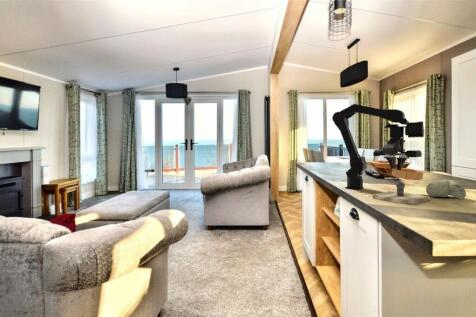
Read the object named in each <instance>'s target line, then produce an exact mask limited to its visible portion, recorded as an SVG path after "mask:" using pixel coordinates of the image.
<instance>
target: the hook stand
mask: <svg viewBox="0 0 476 317" xmlns="http://www.w3.org/2000/svg"><path fill="white" fill-rule="evenodd" d="M405 186H406V184H405V183H404V182H402V181H398V182H397V183H396V184H395V187H396V191H391V190H389V191H385V192H379V193H375V194H373V195H372V197H373V198H372V199H375V200H380V201H386V202H392V203H393V202H394V203H399V204H405V205H410V204H411V206H415V205H417V204H421V203H423V202H427V201H429V197H430V196H429V195H421V194H415V193H408V192H407V193H406V192H405Z"/></svg>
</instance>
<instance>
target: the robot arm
mask: <svg viewBox="0 0 476 317" xmlns="http://www.w3.org/2000/svg"><path fill="white" fill-rule="evenodd" d="M356 114H363V115H368V116H373V117H378V118H382V119H384V120H387V121H388V123H387V124H386V125H385V126H384V129H388V130H389V132H388V134H389V135H388V140H387V142H386V144H385V145H383V146H382V147H381V149H374V150H373V152H372V156H373V157H381V156H384V157H383V159H386V160H387V162H388V163H389V166H390V168H391V170H392V168H397V170H401V168H403V165H404V164H405V162H406V161H407V160H408V159H410V158H422V156H423V153H422V151H421V150H419V149H418V150H414V149H411V150H406V149H404V148H405V147H404V145H405V142H406V140H405V136H407V138H424V137H425V126H424V121H415V122H412V121H411V122H409V120H408V119H406V114H405V112H404V111H402V110H400V109H397V108H395V109H393V108H390V109H388V108H385V109H384V108H377V107H372V106H365V105H360V104H358V103H352V104H351V105H349V106H348V107H346V108H343V109H342V110H340V111H335V112H334V113H333V115H331V116H332V117H331V120H332V122H333V123H334V125H335V127H336V128H337V129H338V130H339V132H340V135H341V137H342V140H343V143H344V145H345V148H346V150H347V154H348V156H349V166H350V168H349V169H348V170H346V172H345V175H346V183H347V184H346V186H345V187H344V189H350V190H361V189H364V188H365V187H364V179H363V176H362V175H363V173H364V172H366V171H367V169H368V163H367V161H366V157H365V156H361V154H360V153H359V151H358V149H357V145H356V143H355V140H354V137H353V135H352V132H351V130H350V121H349V119H351V118H352V117H354V115H356ZM390 122H391V123H392V124H391V123H390ZM393 123H394V124H393ZM399 124H401V126H400V125H399ZM396 156H397V157H396ZM396 162H397V163H396ZM396 164H397V165H396Z"/></svg>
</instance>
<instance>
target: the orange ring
mask: <svg viewBox="0 0 476 317" xmlns="http://www.w3.org/2000/svg"><path fill="white" fill-rule="evenodd" d="M391 176H392V177H394V178H397V179H403V180H410V181H421V180H423V179H424V178H423V177H424V171H422V170H418V169H412V168H406V167H405V168H404V167H402V168H401V170H397V167H395V168H392V169H391Z"/></svg>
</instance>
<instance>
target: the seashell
mask: <svg viewBox="0 0 476 317" xmlns="http://www.w3.org/2000/svg"><path fill="white" fill-rule="evenodd" d="M425 192H426V194H427V196H429V197H432V198H436V197H437V198H439V197H441V198H446V197H449V196H450V197H451V196H452V197H454V198H456V199H458V200H464V199H465V198H466V196H467V192H466V189H465V187H464V186H463V185H462V184H461V183H459V182H458V181H456V180H454V179H453V180H452V179H440V180H435V181H433V182H431V183H428V184H427V185H426V187H425Z"/></svg>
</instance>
